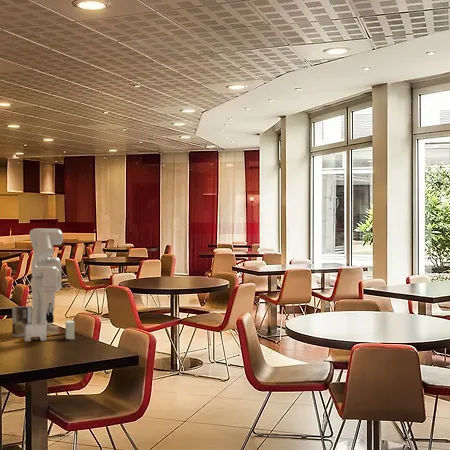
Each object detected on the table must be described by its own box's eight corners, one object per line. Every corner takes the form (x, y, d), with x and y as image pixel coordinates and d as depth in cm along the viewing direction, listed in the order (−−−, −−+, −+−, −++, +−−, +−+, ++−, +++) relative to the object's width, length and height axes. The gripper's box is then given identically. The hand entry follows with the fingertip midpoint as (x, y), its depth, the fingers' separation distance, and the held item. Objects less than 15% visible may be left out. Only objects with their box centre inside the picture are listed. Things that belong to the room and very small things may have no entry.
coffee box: (32, 335, 370) (32, 306, 370) (27, 337, 363) (27, 307, 364) (16, 334, 371) (16, 306, 371) (11, 336, 364) (11, 307, 364)
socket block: (65, 337, 363) (65, 320, 363) (73, 337, 364) (73, 320, 364) (66, 339, 355) (66, 322, 355) (74, 339, 356) (74, 322, 356)
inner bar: (26, 333, 354) (26, 315, 354) (59, 332, 360) (59, 314, 360) (26, 334, 351) (26, 316, 351) (59, 333, 356) (59, 315, 356)
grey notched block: (24, 339, 356) (24, 324, 356) (45, 338, 359) (45, 323, 359) (24, 341, 348) (25, 326, 348) (46, 340, 352) (46, 325, 352)
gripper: (41, 288, 363) (41, 320, 363) (43, 291, 347) (43, 323, 347) (56, 288, 366) (55, 319, 365) (58, 290, 349) (58, 323, 349)
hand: (49, 321), depth 356 cm, fingers open, 9 cm apart
